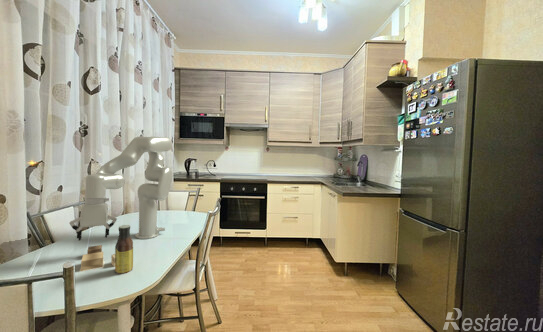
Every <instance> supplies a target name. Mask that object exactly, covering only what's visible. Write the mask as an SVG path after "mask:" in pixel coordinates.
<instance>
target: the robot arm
mask: <svg viewBox="0 0 543 332" xmlns="http://www.w3.org/2000/svg"><path fill="white" fill-rule="evenodd" d="M172 148H173V142H172V140H171V139H170V138H169V137H166V136H165V137H164V136H136V137H133V139H132V140H131V141H130V142H129V143H128V144H127V146H126V147H125V148H124V150H122V151H121V153H120V154H118V155H117V156H115V157H114V158H112V159H110V160H108V161H107V162H105V163H104V164H103V165H102V166H101V167H100V168H99V169H98V170H97V171H96V172H95V174H88V175H87V176H86V177H85V186H84V187H85V189H84V190H85V191H84V192H85V193H84V203H83V204H82V206H81V210H80V215H79V217H78V218H75V219H73V220H70V221H69V225H70V227H71V228H72V229H73V230H74V231H75V232H76V239H78V241H81V240H82V233H83V230H82V229H83V228H91V227H100V226H101V227H103V226H104V227H105V234H104V238H105V239H107V238H108V236H110V228H111V227H113V226H114V225H115V223H116V222H117V217H114V216H111V215H110V214H109V209H108V203H107V202H109V201H110V198H107V197H106V193H107V191H106V190H119V189H121V188H122V187H124V185H125V184H126V179H125V177H124V176H123V175H121V174H117V172H119V171H121V170H123V169H127V168H130V167H132V166H135V165H136V164H137V163H138V162H139V160H140V158H141V157H142V156H143V155H144V154H145V153H147V155H148V163H147V165H146V169H145V173H144V178H145V180H146V181H149V182H150V183H149V182H148V183H147V182H146V183H145V182H144V183H142V184H141V185H139V187H138V188H137V197H138V207H139V208H138V232H137V233H135V235H134V236H135V238H136V239H139V240H146V239H152V238H156V237H158V236H159V235H160V232H165V231H166V228H165V227H158V226H157V225H158V223H157V221H158V220H157V219H158V217H157V216H158V215H157V214H158V204H157V202H156V201H165V200H166V199H167V198H168V196H169V193H170V188H171V184H172V181H173V176H174V175H173V171H172V169H171V168H170V167H168V166H164V163H165V157H164V155H163V153H164V152H168V151H170V150H171V149H172ZM162 152H163V153H162ZM151 182H153V183H151ZM109 220H110V221H111V222H110V223H108V221H109ZM77 222H79V226H78V225H76V223H77Z"/></svg>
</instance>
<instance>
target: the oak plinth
mask: <svg viewBox="0 0 543 332" xmlns="http://www.w3.org/2000/svg"><path fill="white" fill-rule="evenodd" d="M103 260H104V251H102V252H98V253H92V254H87V253H86V254H82V258H81V262H80V265H81V266H80V268H81V271H82V272H85V271H84V270H87V271H90V270H89V269H93V270H96V269H95V268H98V269H101V268H100V267H103ZM103 268H104V267H103Z"/></svg>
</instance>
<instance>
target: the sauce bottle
mask: <svg viewBox="0 0 543 332" xmlns="http://www.w3.org/2000/svg"><path fill="white" fill-rule="evenodd" d="M130 232H131V225H130V224H122V225H119V226H118V238H117V242H116V243H115V246H114V247H115V248H114V250H115V251H114V254H115V267H114V272H115V274H118V275H122V274H123V275H125V274H127V273H130V272H131V271H133V268H134V242H133V239H132V237H131V233H130Z"/></svg>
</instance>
